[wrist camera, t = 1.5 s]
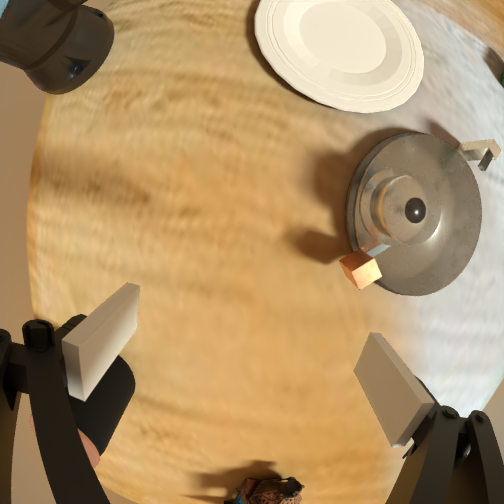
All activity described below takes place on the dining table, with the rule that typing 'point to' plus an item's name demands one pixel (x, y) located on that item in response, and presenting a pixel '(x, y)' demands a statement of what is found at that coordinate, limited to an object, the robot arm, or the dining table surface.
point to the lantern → (269, 492)
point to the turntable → (444, 238)
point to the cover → (399, 207)
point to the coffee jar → (102, 408)
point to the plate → (342, 51)
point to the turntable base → (468, 150)
